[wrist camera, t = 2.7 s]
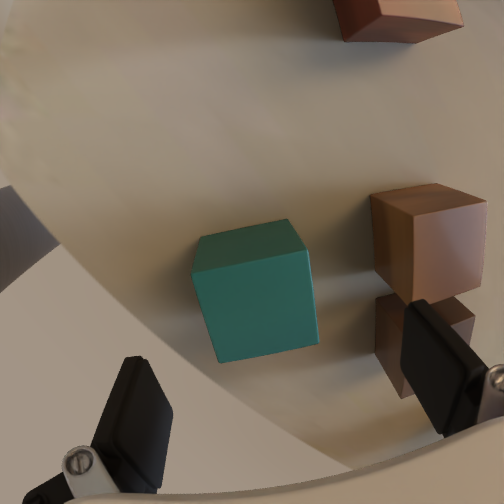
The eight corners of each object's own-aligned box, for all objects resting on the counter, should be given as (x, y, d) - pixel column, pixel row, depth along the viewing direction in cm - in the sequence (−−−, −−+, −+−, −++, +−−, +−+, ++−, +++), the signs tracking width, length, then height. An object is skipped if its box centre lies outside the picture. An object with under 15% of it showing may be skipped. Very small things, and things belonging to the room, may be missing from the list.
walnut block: (374, 354, 22) (400, 399, 17) (375, 298, 20) (408, 340, 15) (430, 335, 22) (462, 374, 17) (436, 280, 20) (476, 315, 15)
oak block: (374, 271, 19) (411, 310, 15) (369, 194, 18) (412, 215, 13) (437, 254, 19) (481, 286, 15) (436, 182, 18) (487, 200, 13)
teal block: (220, 312, 20) (218, 364, 15) (199, 236, 18) (189, 273, 13) (300, 295, 20) (319, 344, 15) (288, 218, 18) (308, 249, 13)
